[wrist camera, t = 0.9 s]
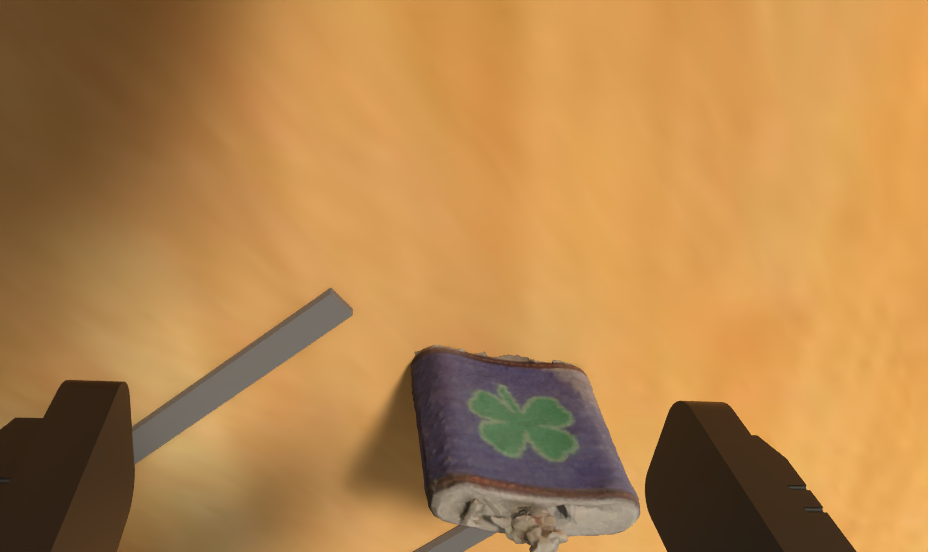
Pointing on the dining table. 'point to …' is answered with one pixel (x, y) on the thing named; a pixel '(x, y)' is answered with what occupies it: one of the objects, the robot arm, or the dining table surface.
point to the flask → (517, 448)
